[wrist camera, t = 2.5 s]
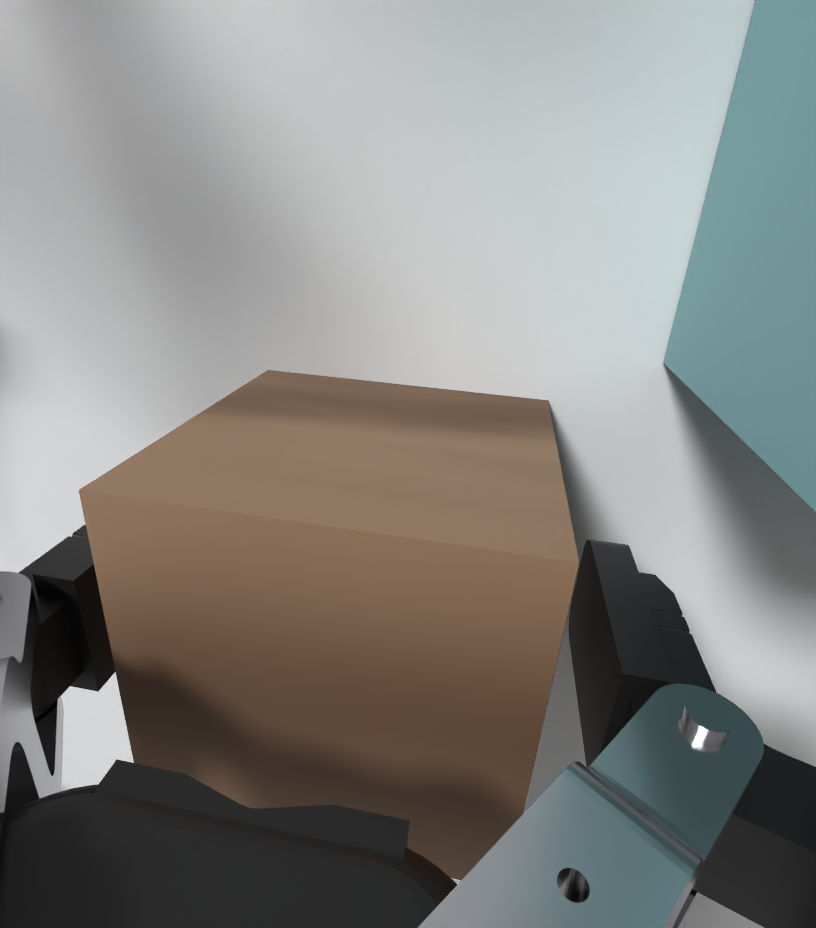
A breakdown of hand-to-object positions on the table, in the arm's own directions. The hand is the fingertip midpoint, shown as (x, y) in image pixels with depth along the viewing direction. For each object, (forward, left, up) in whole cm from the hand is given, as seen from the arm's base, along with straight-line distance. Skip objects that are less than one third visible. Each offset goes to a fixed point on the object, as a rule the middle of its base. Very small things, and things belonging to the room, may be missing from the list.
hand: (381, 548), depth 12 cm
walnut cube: (0, 0, -2) cm, 2 cm away
